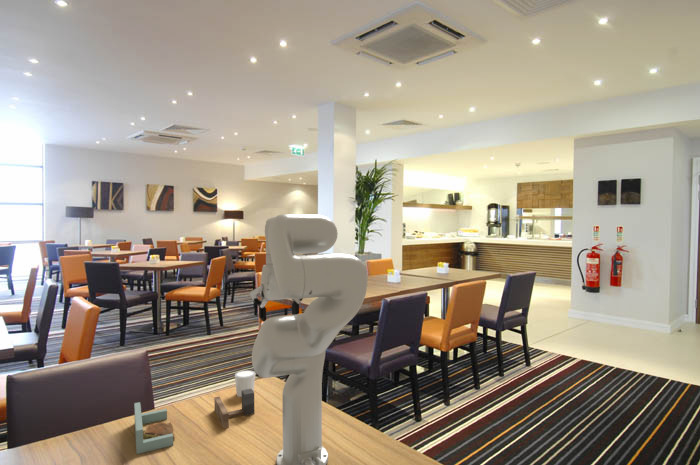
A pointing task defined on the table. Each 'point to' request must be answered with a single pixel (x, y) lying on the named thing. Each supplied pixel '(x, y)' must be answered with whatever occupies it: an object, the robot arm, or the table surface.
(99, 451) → the table surface
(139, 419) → the bracket
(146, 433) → the shard
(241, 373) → the shot glass
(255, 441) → the table surface
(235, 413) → the wall doorstop
